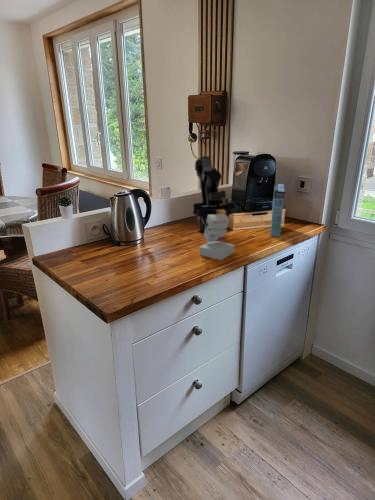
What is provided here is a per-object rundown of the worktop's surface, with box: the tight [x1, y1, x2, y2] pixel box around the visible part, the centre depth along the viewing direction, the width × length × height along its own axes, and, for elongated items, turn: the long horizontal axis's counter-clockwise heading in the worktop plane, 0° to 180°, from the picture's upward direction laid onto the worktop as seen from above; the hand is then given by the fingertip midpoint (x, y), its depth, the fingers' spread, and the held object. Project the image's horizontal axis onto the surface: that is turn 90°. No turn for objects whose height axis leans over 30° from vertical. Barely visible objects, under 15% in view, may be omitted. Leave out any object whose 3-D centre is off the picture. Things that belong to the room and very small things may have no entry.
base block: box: [198, 241, 235, 261], centre depth 148 cm, size 11×11×4 cm
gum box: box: [270, 183, 286, 238], centre depth 172 cm, size 20×5×23 cm, turn 166°
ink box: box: [203, 212, 230, 243], centre depth 147 cm, size 9×5×12 cm, turn 110°
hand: (216, 225), depth 146 cm, fingers closed on ink box, 9 cm apart
